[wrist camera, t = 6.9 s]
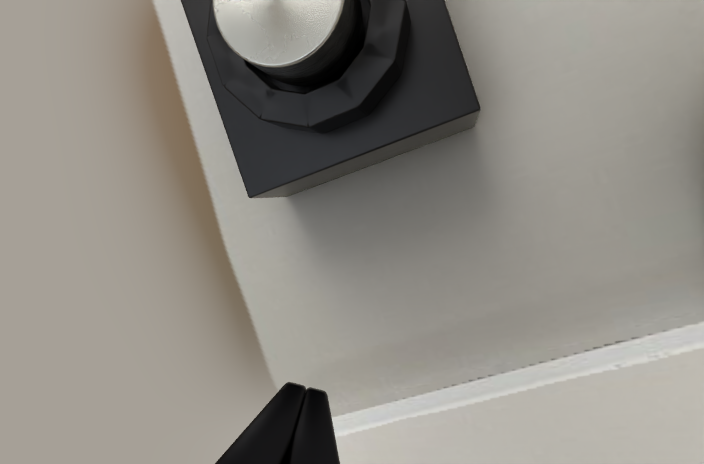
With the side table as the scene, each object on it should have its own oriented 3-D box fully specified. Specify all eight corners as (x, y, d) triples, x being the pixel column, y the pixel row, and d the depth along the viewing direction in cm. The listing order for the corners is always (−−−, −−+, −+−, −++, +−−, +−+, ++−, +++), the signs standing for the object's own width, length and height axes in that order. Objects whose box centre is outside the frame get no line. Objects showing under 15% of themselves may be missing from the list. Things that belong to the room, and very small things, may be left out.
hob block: (475, 126, 20) (484, 99, 14) (285, 197, 22) (226, 199, 17) (406, -81, 20) (386, -194, 14) (222, 14, 22) (141, -49, 16)
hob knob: (379, 56, 15) (365, 30, 13) (270, 104, 16) (238, 89, 14) (339, -63, 15) (316, -113, 13) (232, -7, 16) (193, -42, 14)
